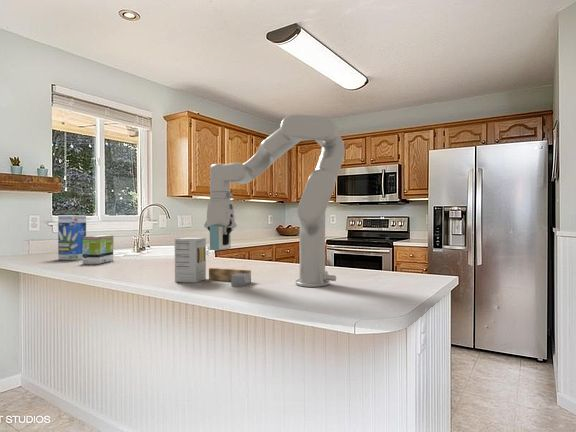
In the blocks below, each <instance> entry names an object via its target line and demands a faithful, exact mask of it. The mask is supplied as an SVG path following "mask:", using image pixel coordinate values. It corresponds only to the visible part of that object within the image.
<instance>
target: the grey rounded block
mask: <svg viewBox="0 0 576 432" xmlns="http://www.w3.org/2000/svg"><path fill="white" fill-rule="evenodd" d="M230 282H231V283H230V287H235V288H237V287H241V288H242V287H243V288H244V287H246V286H248V285H249V284H251V282H250V273H236V274H234V275H232V276H231V281H230Z"/></svg>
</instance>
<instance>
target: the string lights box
mask: <svg viewBox="0 0 576 432" xmlns="http://www.w3.org/2000/svg"><path fill="white" fill-rule="evenodd" d="M57 219H58V220H57V221H58V222H57V224H58V226H57V229H58V230H57V231H58V232H57V235H58V236H57V237H58V238H57V243H58V250H57V251H58V253H57V254H58V256H57V257H58V260H64V261H68V260H69V261H79V260H80V261H81V260H82V257H83V237H84V236H87V216H86V215H69V214H68V215H58V217H57Z"/></svg>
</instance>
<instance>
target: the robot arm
mask: <svg viewBox="0 0 576 432" xmlns="http://www.w3.org/2000/svg"><path fill="white" fill-rule="evenodd" d="M302 140H305V141H307V140H308V141H315V142H316V143H317V144H318V145H319V146H320V147H321V153H320V155H319V157H318V161H317V164H316V166H315V170H314V171H312V172H311V173H310V174H309V176H308V178H307V181H306V183H305V185H304V186H305V187H304V190H303V192H302V194H301V197H300V200H299V204H298V205H297V211H296V213H297V216H298V219H299V244H298V246H299V278H298V279H296V280H295V284H296V286H300V287H306V288H308V287H310V288H317V287H319V288H320V287H326V286H330V283H331V282H337V275H334V274H329V271H328V270H327V271H326V210H327V208H328V205H329V202H330V200H331V197H332V195H333V192H334V189H335V187H336V182H337V178H338V176H339V172H340V170H341V167H342V165H343V160H344V157H345V151H346V150H345V144H344V140H343V138H342V137H341V135H340V134H339V132H338V127H337V125H336V122H335V121H334V120H333V118H330V117H328V116H323V115H322V116H320V115H305V114H289V115H287V116H285V117H284V118H283V119H282V120H281V123H280V126H279V128H278V129H276V130H274V132H273V133H271V134H270V135H268V136H267V137H266V138H265V139H263V140H262V141H261V142H260V145H259V146H258V149H257V151H256V152H255V153H254V155H253V156H251V158H249V159H247V161H245V162H244V163H242V162H231V163H230V162H229V163H214V164H211V165H210V166H209V200H208V202H207V209H206V221H205V222H204V224H203V227H205V229H207V231H209V233H210V226H223V231H224V235H223V245H228V244H229V234H230V235H231V233H232V232H233V231H234V230H235V228H237V227H238V224H237V223H236V220H235V219H236V218H235V207H234V204H233V199H231V198H233V197H234V195H233V192H232V193H231V183H236V184H240V185H247V184H249V183H250V182H252V181H254V180H255V179H256V178H258V177H259V176H260V175H261V174H263V173H264V172H265V171H267V170H268V168H269V167H270V166H272V165H273V164H274V163H275V162H276V161H277V160H278V159H280V157H282V156H283V155H284V154H286V152H288V151H289V150H291V149H292V148H293V147H295V146H297V144H298V143H300V142H301V141H302ZM229 226H230V227H229ZM330 281H331V282H330Z"/></svg>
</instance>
